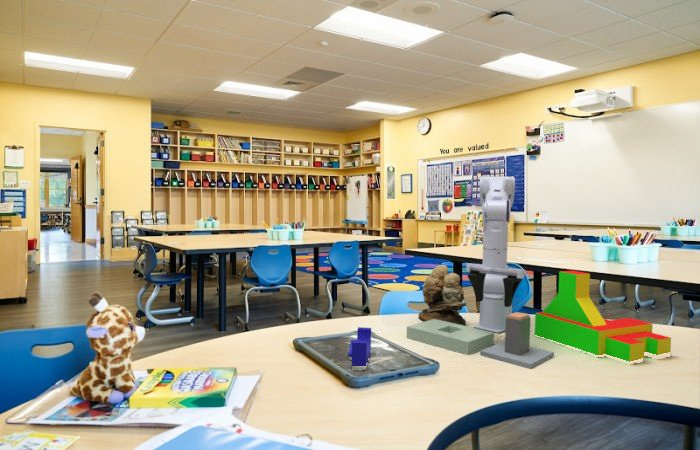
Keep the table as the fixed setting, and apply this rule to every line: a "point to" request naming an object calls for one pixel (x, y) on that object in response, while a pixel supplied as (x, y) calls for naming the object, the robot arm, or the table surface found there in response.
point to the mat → (524, 360)
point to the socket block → (451, 336)
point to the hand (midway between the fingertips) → (493, 303)
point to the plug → (517, 333)
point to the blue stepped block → (360, 347)
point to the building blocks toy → (594, 324)
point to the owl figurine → (443, 297)
